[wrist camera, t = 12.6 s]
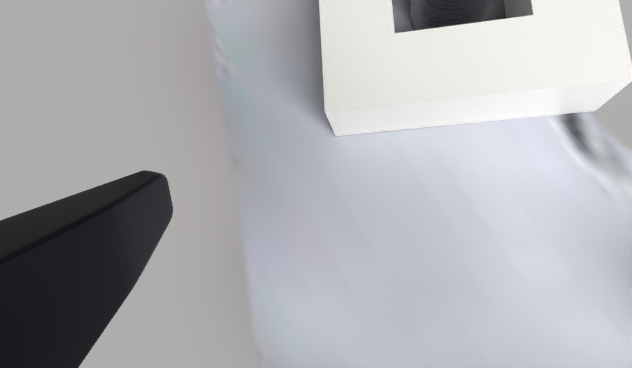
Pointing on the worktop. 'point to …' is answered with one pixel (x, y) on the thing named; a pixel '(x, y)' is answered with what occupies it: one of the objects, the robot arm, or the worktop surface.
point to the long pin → (446, 13)
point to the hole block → (469, 65)
